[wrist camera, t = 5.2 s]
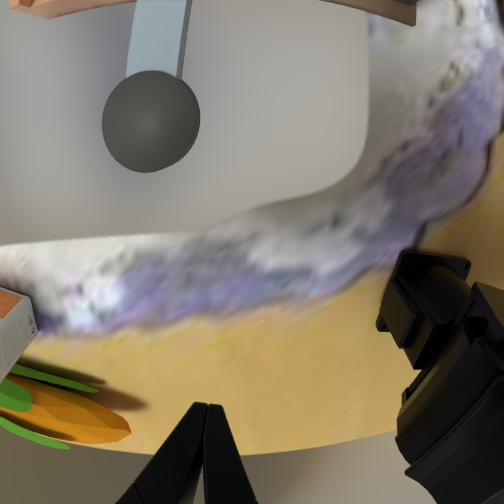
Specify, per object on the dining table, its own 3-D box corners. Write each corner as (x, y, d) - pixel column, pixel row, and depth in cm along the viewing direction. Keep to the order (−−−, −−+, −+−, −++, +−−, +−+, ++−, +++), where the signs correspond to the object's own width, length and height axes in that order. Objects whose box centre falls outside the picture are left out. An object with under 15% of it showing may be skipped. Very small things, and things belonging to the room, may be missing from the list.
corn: (-45, 390, 18) (104, 447, 18) (-15, 344, 25) (128, 374, 25) (-11, 429, 22) (133, 479, 22) (12, 385, 29) (148, 417, 28)
